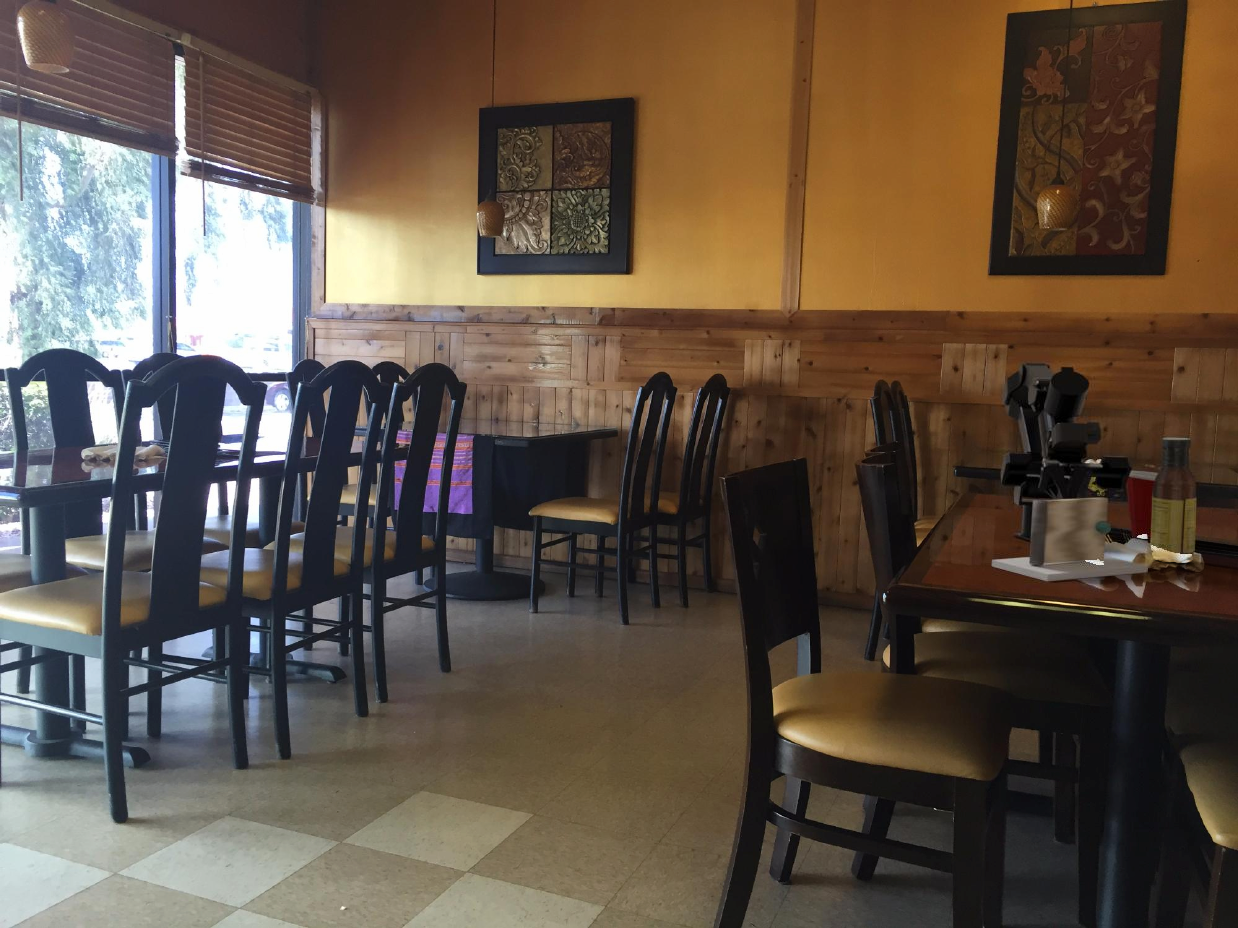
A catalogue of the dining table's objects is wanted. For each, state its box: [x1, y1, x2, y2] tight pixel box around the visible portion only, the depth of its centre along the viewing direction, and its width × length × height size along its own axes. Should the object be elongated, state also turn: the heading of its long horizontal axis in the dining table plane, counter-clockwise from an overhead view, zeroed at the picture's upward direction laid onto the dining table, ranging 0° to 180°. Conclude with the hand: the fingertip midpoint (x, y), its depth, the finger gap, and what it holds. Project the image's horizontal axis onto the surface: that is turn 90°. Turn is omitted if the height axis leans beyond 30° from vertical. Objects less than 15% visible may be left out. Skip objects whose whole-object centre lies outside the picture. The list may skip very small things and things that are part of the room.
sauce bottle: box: [1150, 437, 1197, 555], centre depth 157 cm, size 7×6×20 cm
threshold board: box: [991, 555, 1149, 582], centre depth 150 cm, size 20×11×1 cm, turn 112°
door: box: [1029, 497, 1112, 565], centre depth 149 cm, size 14×4×10 cm, turn 112°
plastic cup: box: [1125, 470, 1158, 541], centre depth 179 cm, size 11×11×12 cm
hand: (1070, 512), depth 154 cm, fingers closed
